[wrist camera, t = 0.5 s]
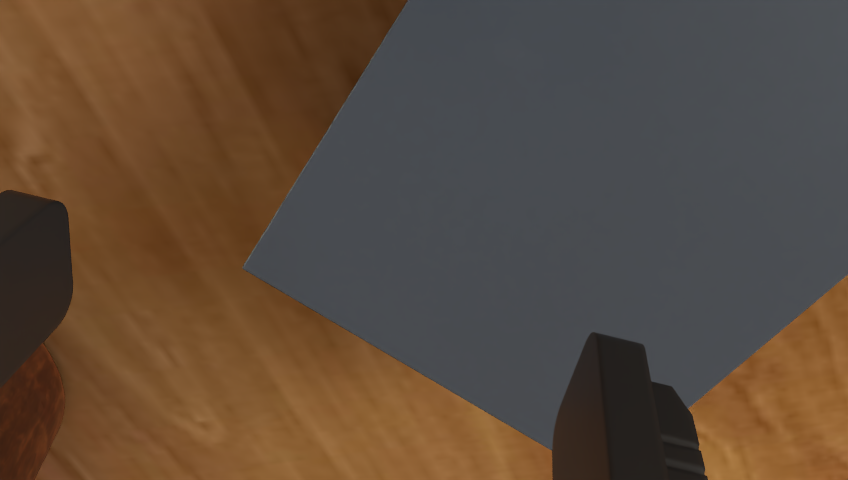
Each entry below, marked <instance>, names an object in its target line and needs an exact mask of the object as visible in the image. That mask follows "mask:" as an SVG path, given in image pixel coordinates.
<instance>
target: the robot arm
mask: <svg viewBox="0 0 848 480" xmlns="http://www.w3.org/2000/svg"><path fill="white" fill-rule="evenodd" d="M72 292H73V278H72V264H71V249H70V235H69V221H68V213H67V209H66V207H65V206H64V205H63V203H61V202H59V201H55V200H51V199H46V198H42V197H38V196H34V195H30V194H26V193H22V192H17V191H13V190H7V191H4V192H2V193H0V388H1V387H2V386H3V385H4V384H5V383H6V382H7V381H8V380H9V379H10V378H11V377H12V375H13V374H14V373H15V372H16V371H17V370H18V369H19V368H20V367H21V366H22V365H23V364H24V362H25V361H26V360H27V359H28V358H29V357H30V356H31V355H32V354H33V353H34V352H35V351H36V349H37V348H38V347H39V346H40V345H41V344H42V343H43V342H44V341H45V340H46V339H47V338H48V336H49V335H50V334H51V333H52V332H53V331H54V330H55V329H56V328H57V327H58V325H59V324H60V323H61V321H62V320H63V318H64V317H65V315H66V313H67V310H68V308H69V305H70V302H71V298H72ZM698 448H699V441H698V437H697V433H696V429H695V425H694V420H693V416H692V414H691V413H690V411H689V410H688V408H687V407H686V406H685V404H684V403H683V401H682V400H681V399H680V397H679V396H678V394H677V393H676V391H675V390H674V389H673V387H672V386H668V385H664V384H660V383H656V382H652V381H651V377H650V372H649V366H648V361H647V355H646V350H645V347H644V345H643V344H641V343H637V342H633V341H628V340H624V339H620V338H616V337H612V336H608V335H604V334H599V333H595V332H592V333H591V334H590V335H589V337H588V338H587V340H586V342H585V345H584V347H583V350H582V352H581V355H580V357H579V360H578V362H577V365H576V367H575V370H574V372H573V375H572V377H571V380H570V382H569V385H568V387H567V390H566V392H565V395H564V397H563V400H562V403H561V405H560V408H559V411H558V415H557V418H556V423H555V428H554V434H553V444H552V464H553V480H708V479H707V476H705V475H704V472H705V466H704V462H703V458H702V454H701V451H699V450H698Z"/></svg>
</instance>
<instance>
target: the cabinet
mask: <svg viewBox="0 0 848 480" xmlns="http://www.w3.org/2000/svg"><path fill="white" fill-rule="evenodd" d="M243 269H244V270H246V271H247V272H249V273H251V274H252V275H254V276H256V277H257V278H259V279H261V280H263V281H264V282H266V283H268V284H269V285H271V286H273V287H274V288H276V289H278V290H280V291H281V292H283V293H285V294H286V295H288V296H290V297H292V298H293V299H295V300H297V301H298V302H300V303H302V304H303V305H305V306H307V307H309V308H310V309H312V310H314V311H315V312H317V313H319V314H320V315H322V316H324V317H326V318H327V319H329V320H331V321H332V322H334V323H336V324H337V325H339V326H341V327H343V328H344V329H346V330H348V331H349V332H351V333H353V334H354V335H356V336H358V337H360V338H361V339H363V340H365V341H366V342H368V343H370V344H371V345H373V346H375V347H377V348H378V349H380V350H382V351H383V352H385V353H387V354H388V355H390V356H392V357H394V358H395V359H397V360H399V361H400V362H402V363H404V364H405V365H407V366H409V367H411V368H412V369H414V370H416V371H417V372H419V373H421V374H422V375H424V376H426V377H428V378H429V379H431V380H433V381H434V382H436V383H438V384H439V385H441V386H443V387H445V388H446V389H448V390H450V391H451V392H453V393H455V394H456V395H458V396H460V397H462V398H463V399H465V400H467V401H468V402H470V403H472V404H474V405H475V406H477V407H479V408H480V409H482V410H484V411H485V412H487V413H489V414H491V415H492V416H494V417H496V418H497V419H499V420H501V421H502V422H504V423H506V424H508V425H509V426H511V427H513V428H514V429H516V430H518V431H519V432H521V433H523V434H525V435H526V436H528V437H530V438H531V439H533V440H535V441H536V442H538V443H540V444H542V445H543V446H545V447H547V448H548V449H550V450H552V444H553V434H554V428H555V423H556V418H557V415H558V411H559V408H560V405H561V403H562V400H563V397H564V395H565V392H566V390H567V387H568V385H569V382H570V380H571V377H572V375H573V372H574V370H575V367H576V365H577V362H578V360H579V357H580V355H581V352H582V350H583V347H584V345H585V342H586V340H587V338H588V337H589V335H590V334H591V333H592V332H595V333H599V334H604V335H608V336H612V337H616V338H620V339H624V340H628V341H633V342H637V343H641V344H643V345H644V347H645V350H646V355H647V361H648V366H649V372H650V377H651V381H652V382H656V383H660V384H664V385H668V386H672V387H673V389H674V390H675V391H676V393H677V394H678V396H679V397H680V399H681V400H682V401H683V403H684V404H685V406H686V407H687V408H689V407H690V406H692V405H693V404H694V403H695V402H696V401H698V400H699V399H700V398H701V397H702V396H704V395H705V394H706V393H707V392H708V391H709V390H711V389H712V388H713V387H714V386H715V385H717V384H718V383H719V382H720V381H721V380H723V379H724V378H725V377H726V376H727V375H729V374H730V373H731V372H732V371H733V370H735V369H736V368H737V367H738V366H739V365H740V364H742V363H743V362H744V361H745V360H746V359H748V358H749V357H750V356H751V355H752V354H754V353H755V352H756V351H757V350H758V349H760V348H761V347H762V346H763V345H764V344H766V343H767V342H768V341H769V340H770V339H771V338H773V337H774V336H775V335H776V334H777V333H779V332H780V331H781V330H782V329H783V328H785V327H786V326H787V325H788V324H789V323H791V322H792V321H793V320H794V319H795V318H797V317H798V316H799V315H800V314H801V313H802V312H804V311H805V310H806V309H807V308H808V307H810V306H811V305H812V304H813V303H814V302H816V301H817V300H818V299H819V298H820V297H822V296H823V295H824V294H825V293H826V292H828V291H829V290H830V289H831V288H832V287H833V286H835V285H836V284H837V283H838V282H839V281H841V280H842V279H843V278H844V277H845V276H847V275H848V0H408V1H407V2H406V4H405V6H404V7H403V9H402V10H401V12H400V14H399V15H398V17H397V19H396V20H395V22H394V23H393V25H392V27H391V28H390V30H389V31H388V33H387V35H386V36H385V38H384V39H383V41H382V43H381V44H380V46H379V48H378V49H377V51H376V52H375V54H374V56H373V57H372V59H371V60H370V62H369V64H368V65H367V67H366V69H365V70H364V72H363V73H362V75H361V77H360V78H359V80H358V81H357V83H356V85H355V86H354V88H353V89H352V91H351V93H350V94H349V96H348V98H347V99H346V101H345V102H344V104H343V106H342V107H341V109H340V110H339V112H338V114H337V115H336V117H335V119H334V120H333V122H332V123H331V125H330V127H329V128H328V130H327V131H326V133H325V135H324V136H323V138H322V139H321V141H320V143H319V144H318V146H317V148H316V149H315V151H314V152H313V154H312V156H311V157H310V159H309V160H308V162H307V164H306V165H305V167H304V169H303V170H302V172H301V173H300V175H299V177H298V178H297V180H296V181H295V183H294V185H293V186H292V188H291V189H290V191H289V193H288V194H287V196H286V198H285V199H284V201H283V202H282V204H281V206H280V207H279V209H278V210H277V212H276V214H275V215H274V217H273V219H272V220H271V222H270V223H269V225H268V227H267V228H266V230H265V231H264V233H263V235H262V236H261V238H260V239H259V241H258V243H257V244H256V246H255V248H254V249H253V251H252V252H251V254H250V256H249V257H248V259H247V260H246V262H245V264H244V265H243Z"/></svg>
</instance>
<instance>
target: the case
mask: <svg viewBox="0 0 848 480" xmlns="http://www.w3.org/2000/svg"><path fill="white" fill-rule="evenodd" d="M64 408H65V394H64V389H63V384H62V380H61V377H60V374H59V372H58V369H57V367H56V365H55V363H54V360H53V358H52V357H51V355H50V353H49V352H48V350H47V349H46V347H45V346H44V344H43V343H42V344H41V345H40V346H39V347H38V348H37V349H36V351H35V352H34V353H33V354H32V355H31V356H30V357H29V358H28V359H27V360H26V361H25V362H24V364H23V365H22V366H21V367H20V368H19V369H18V370H17V371H16V372H15V373H14V374H13V375H12V377H11V378H10V379H9V380H8V381H7V382H6V383H5V384H4V385H3V386H2V387H1V388H0V480H35V478H36V476H37V473H38V471H39V469H40V467H41V465H42V463H43V461H44V459H45V457H46V455H47V453H48V451H49V449H50V447H51V445H52V442H53V440H54V438H55V436H56V434H57V432H58V430H59V428H60V425H61V422H62V419H63V414H64Z"/></svg>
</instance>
